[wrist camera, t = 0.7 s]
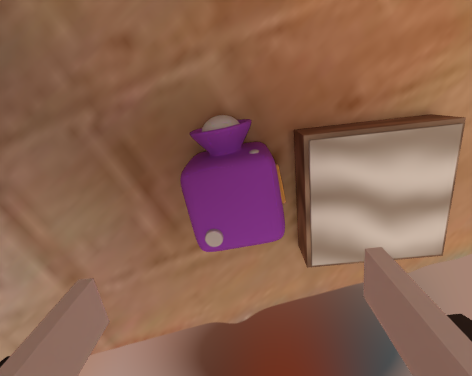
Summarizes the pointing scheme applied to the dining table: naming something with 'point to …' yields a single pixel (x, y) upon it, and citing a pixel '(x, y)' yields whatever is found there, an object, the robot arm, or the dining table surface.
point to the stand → (376, 187)
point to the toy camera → (232, 188)
